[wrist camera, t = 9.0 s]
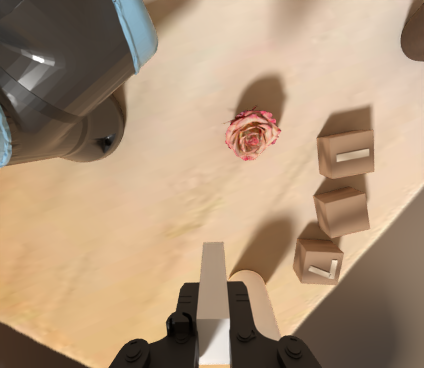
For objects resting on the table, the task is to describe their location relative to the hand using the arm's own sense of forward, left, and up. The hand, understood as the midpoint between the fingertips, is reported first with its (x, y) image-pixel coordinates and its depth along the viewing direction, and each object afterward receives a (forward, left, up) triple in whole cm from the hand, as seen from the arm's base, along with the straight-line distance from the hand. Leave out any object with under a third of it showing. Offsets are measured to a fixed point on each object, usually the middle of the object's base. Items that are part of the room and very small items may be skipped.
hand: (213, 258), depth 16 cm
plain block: (+10, +22, -27) cm, 37 cm away
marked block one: (-1, +23, -27) cm, 36 cm away
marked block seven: (+20, +17, -27) cm, 38 cm away
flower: (-7, +7, -28) cm, 29 cm away
